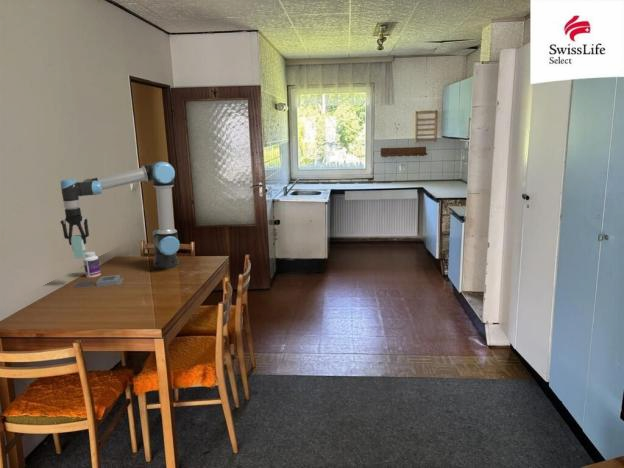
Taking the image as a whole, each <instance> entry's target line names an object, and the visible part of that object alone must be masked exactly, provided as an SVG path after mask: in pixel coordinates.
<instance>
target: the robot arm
mask: <svg viewBox="0 0 624 468" xmlns="http://www.w3.org/2000/svg"><path fill="white" fill-rule="evenodd" d="M175 174H176V172H175V168H174V167H173V165H172V164H170V163H169V162H166V161H160V160H159V161H158V160H157V161H155V162H152V163H148V164H145V165H142V166H141V167H140V168H135V169H131V170H129V169H128V170H125V171H121V172H117V173H113V174H112V173H111V174H108V175H102V176H98V177H97V176H96V177H94V178H86V179H84V180H82V181H80V182H79V181H77V180H76V178H67V179H65V178H64V179H61V181H60V189H61V196H62V201H63V207H64V213H65V219H62V220H61V221H60V224H61V225H62V232H63V237H64V239H67V240H68V243H69V245H70V246H71V250H72V252H74V251H73V245H72V239H71V237H72V236H73V228H74V226H76V227H77V228H78V230H79V231H78V232H79V233H80V235H81V236H82V238H81V241H82V248H83V250H85V251H86V244H87V238H88V237H89V236H90V231H89V224H88V222H89V219H88V218H87V217H86V218H85V217H83V216H82V210H81V205H80V197H85V196H87V197H88V196H97V195H102V194H103V191H104V190H108V189H112V188H117V187H121V186H126V185H131V184H134V183H140V182H144V181H145V182H147V183H148V182H152V186H153V187H154V188H155V193H156V194H155V195H156V204H157V205H156V206H157V218H158V219H157V220H158V229H154V230H153V231H152V238H153V245H154V248H153V249H154V260H153V268H154V269H159V270H160V269H170V268H174V267H176V266H178V265H179V264H180V261H179V258H178V257H177V256H178V255H176V253H177V252H178V251H179V249H180V240H179V239H178V230H177V229H175V220H174V205H173V189H172V188H173V187H174V186H175V180H174V179H175V176H176V175H175ZM81 222H83V225H84V229H83V227H82V226H83V225H82V223H81ZM67 224H68V227H67Z"/></svg>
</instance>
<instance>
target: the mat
mask: <svg viewBox="0 0 624 468" xmlns="http://www.w3.org/2000/svg"><path fill="white" fill-rule="evenodd" d="M94 283H96V282H95V280H93V281H92V280H91V281H85V282H82V281H81V282H77V283H76V284H75V286H74V287H73V288H74V289H77V288H86V287H93V284H94Z"/></svg>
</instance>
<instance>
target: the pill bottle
mask: <svg viewBox="0 0 624 468" xmlns="http://www.w3.org/2000/svg"><path fill="white" fill-rule="evenodd" d="M85 255H86V256H85V257H84V258H82V260H83V266H84V272H85V273H84V274H85V277H86V278H96V277H100V276H101V274H102V273H101V267H100V261H99V256H97V255H96V252H95V251H87V252H85Z"/></svg>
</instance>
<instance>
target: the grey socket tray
mask: <svg viewBox="0 0 624 468" xmlns="http://www.w3.org/2000/svg"><path fill="white" fill-rule="evenodd" d="M123 280H124V278H121V275H120V274H115V275H105V276H104V275H103V276H99V278H98V279H97V280H96V282H95V284H94V286H93V288H98V287H108V286H118V285H121V284H122V282H123Z"/></svg>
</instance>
